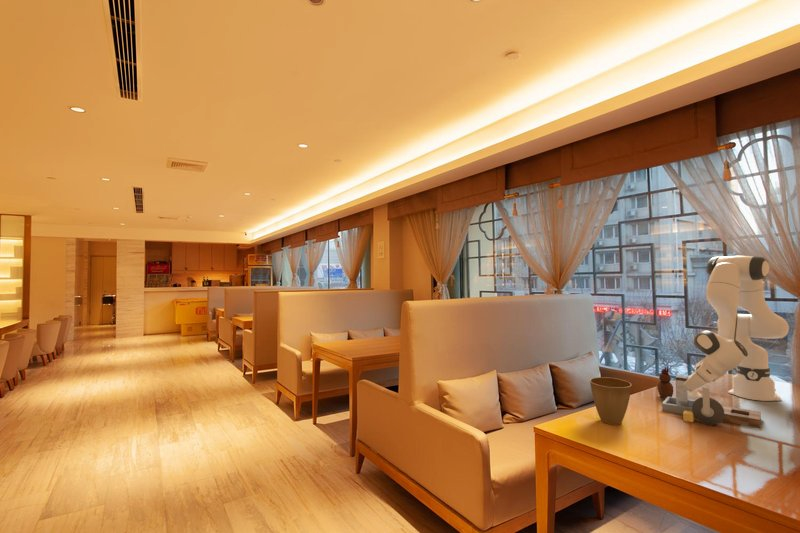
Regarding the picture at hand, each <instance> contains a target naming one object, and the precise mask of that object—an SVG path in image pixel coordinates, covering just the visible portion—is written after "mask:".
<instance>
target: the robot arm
mask: <svg viewBox="0 0 800 533" xmlns="http://www.w3.org/2000/svg"><path fill="white" fill-rule="evenodd" d="M769 271H770V265H769V262H768V260H767V259H766V258H765V257H763V256H758V255H755V256H752V255H751V256H750V255H728V256H721V255H720V256H714V257H711V258H710V259H709V260H708V261H707V264H706V272H707V274H708V275H709V278H708V281H707V285H706V290H705V295H706V300H707V302H708V303H709V305H711V307H712V308H713V309H714V312H715V313H716V314H717V315H716V316H717V318H718V319H717V321H716V324H717V325H716V326H717V333H716V332H713V331H710V330H707V329H706V330H702V331H700V332H698V333H697V334H696V335H695V336H694V339H693V345H694V346H695V348H696V349H697V350H698V351H700V352H701V353H703V354H705V357H704V358H702V359H701V360H700V361H698V362H697V363H695V369H694V372H693V373H691V375H689V376H688V379H687V380H686V381H685V383H684V384H683V386H682V387H681V388H679V389H678V391H679V392H680V393H683V392H684V391H686V390H688V391H693V390H695V389H697V390H698V389H699V388H701V387H703V386H704V385H707V383H708V384H710V383H711V384H712V383H715V382H716V381H718V380H719V379H721V378H722V377H724V376H725V375H726V373H727V372H729V371H731V370H734V369H736V374H735V375H734V376H732V388H731V389H729V390H728V391H727V392H728V394H730V395H735V396H737V397H739V398H743V399H749V400H755V401H760V402H762V401H764V402H771V401H773V402H774V401H782V398H781V396H779V395H778V394H777V393H776V391H777V390H776V385H775V384H776V383H775V381H774V380H773V379H772V378H771V377H770V376H771V369H770V368H769V353H768V351H767V349H765V348H764V347H763V346H760V345H758V344H756V343H754V342H753V341H752V339H751V338H754V339H766V340H767V339H769V340H772V339H783V338H785V337H786V336H787V335H788V334H789V331H790V326H789V323H788V321H787V320H786V319H785V318H783V317H782V316H780V315H778V314H777V313H775V312H774V311H773V310H772V309H771V308H770V307H769V306H768V304H767V302H766V298H765V293H764V284H763V279H765V278H766V277H767V276H768V275H769ZM738 308H740V309H742V310H744V311H747V312H748V313H739V312H738V311H739V310H738Z"/></svg>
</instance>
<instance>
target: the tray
mask: <svg viewBox="0 0 800 533" xmlns="http://www.w3.org/2000/svg"><path fill="white" fill-rule="evenodd" d="M694 402H695V401H694V400H689V406H688V407H685V406H679V405H676V396H675V397H674V396H672V397H669V396H668V397H667V398H664V400H663V401H662V403H661V411H664V412H668V413H676V414H679V415H683V412H684V411H691V412H692V405H693V403H694Z"/></svg>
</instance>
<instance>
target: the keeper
mask: <svg viewBox="0 0 800 533" xmlns="http://www.w3.org/2000/svg"><path fill="white" fill-rule="evenodd" d="M722 407H723V409H724V417H723V420H722V421H721V422H726V423H729V424H731V423H732V424H737V425H742V426H748V427H754V428H761V421H762V420H761V418H762V417H761V411H759V410H758V411H757V410H753V409H752V410H751V409H744V408H739V407H733V406H729V405H728V406H726V405H722Z"/></svg>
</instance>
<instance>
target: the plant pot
mask: <svg viewBox="0 0 800 533" xmlns="http://www.w3.org/2000/svg"><path fill="white" fill-rule="evenodd" d="M589 385H590V388H591V389H590V390H591V395H592V398H593V402H594V405H595V409H596V411H597V414H598V416H599V419H600V421H601V423H604V424H606V425H611V426H619V425H621V424H622V423H623V420H624V418H625V416H626V413H627V410H628V406H629V402H630V398H631V392H632V383H631V382H629V381H627V380H624V379H620V378H616V377H608V376H607V377H606V376H603V377H601V376H599V377H597V376H596V377H593V378H590V379H589Z"/></svg>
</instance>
